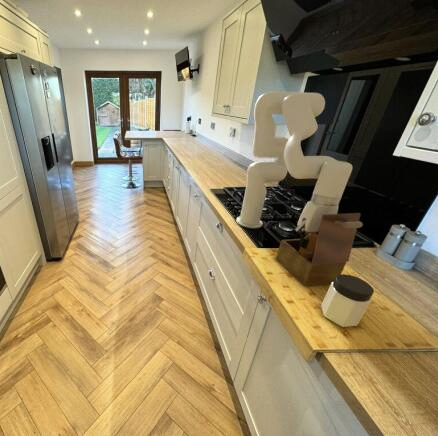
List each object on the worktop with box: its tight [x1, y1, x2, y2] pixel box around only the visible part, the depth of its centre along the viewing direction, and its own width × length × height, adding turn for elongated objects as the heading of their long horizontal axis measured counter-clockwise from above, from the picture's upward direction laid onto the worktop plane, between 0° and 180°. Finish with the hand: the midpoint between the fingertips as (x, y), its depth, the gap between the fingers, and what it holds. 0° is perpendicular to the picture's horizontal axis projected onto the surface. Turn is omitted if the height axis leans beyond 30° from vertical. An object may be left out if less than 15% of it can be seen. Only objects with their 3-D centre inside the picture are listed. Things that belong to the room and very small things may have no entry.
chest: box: [275, 238, 347, 287], centre depth 86 cm, size 16×13×9 cm
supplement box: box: [299, 232, 318, 259], centre depth 85 cm, size 3×3×10 cm
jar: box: [320, 273, 375, 328], centre depth 66 cm, size 9×8×12 cm
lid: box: [312, 212, 364, 264], centre depth 72 cm, size 16×13×5 cm
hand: (307, 246), depth 85 cm, fingers closed on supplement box, 3 cm apart
